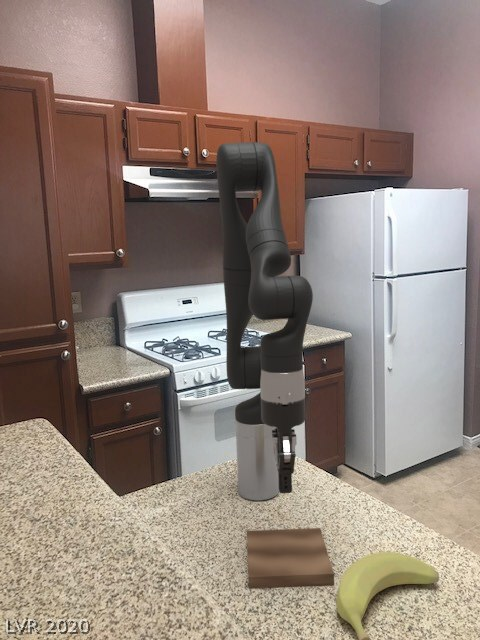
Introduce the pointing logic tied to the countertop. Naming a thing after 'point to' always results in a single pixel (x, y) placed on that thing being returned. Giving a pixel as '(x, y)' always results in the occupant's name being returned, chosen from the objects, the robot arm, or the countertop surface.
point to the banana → (377, 582)
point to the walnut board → (288, 558)
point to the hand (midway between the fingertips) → (285, 491)
